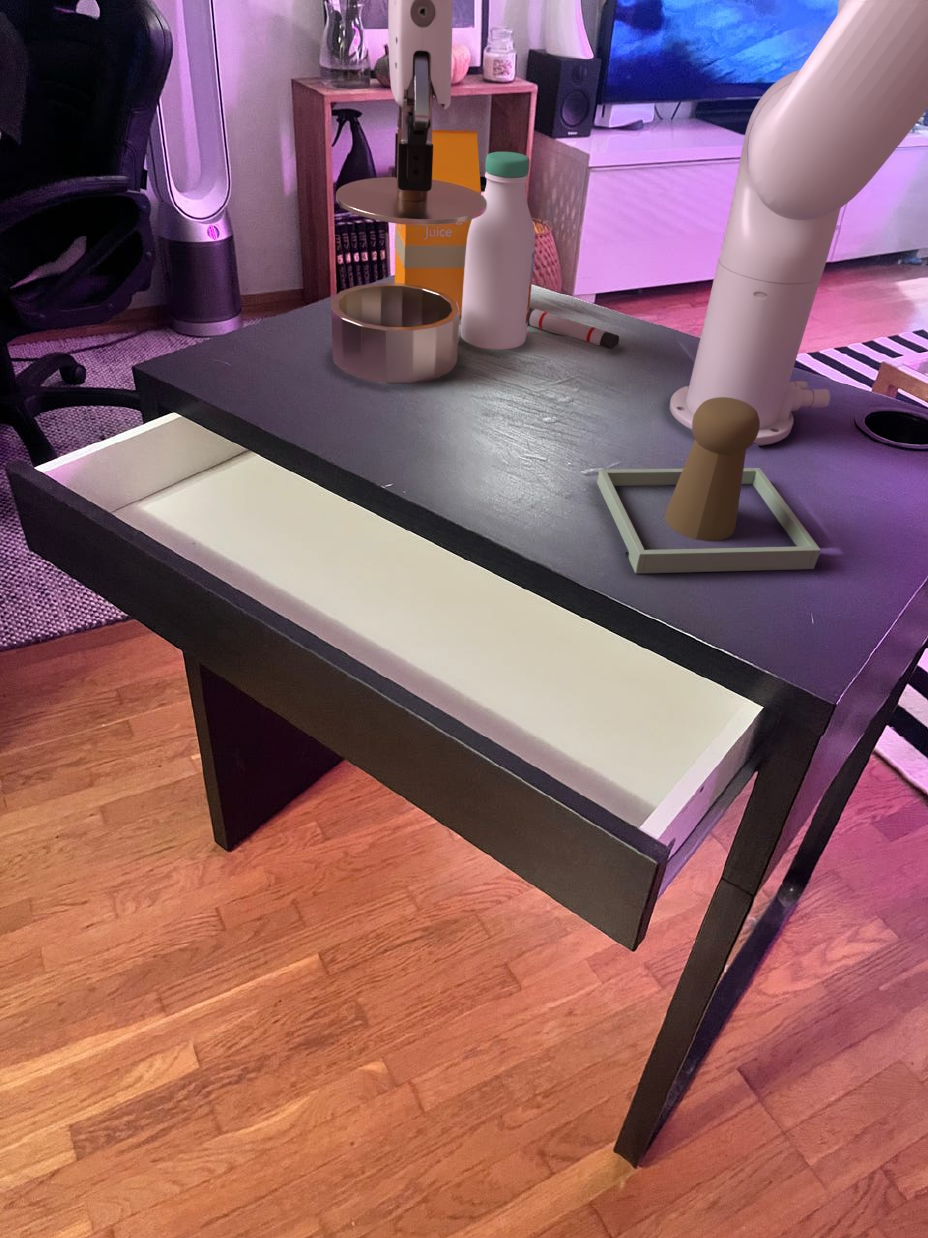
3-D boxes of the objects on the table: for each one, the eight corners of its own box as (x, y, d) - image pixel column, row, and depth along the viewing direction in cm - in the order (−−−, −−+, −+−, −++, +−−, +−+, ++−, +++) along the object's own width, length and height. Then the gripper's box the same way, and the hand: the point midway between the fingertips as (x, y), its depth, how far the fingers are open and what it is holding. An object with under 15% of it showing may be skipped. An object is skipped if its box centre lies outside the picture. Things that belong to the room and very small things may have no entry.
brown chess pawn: (682, 496, 82) (711, 381, 75) (746, 520, 79) (781, 403, 73) (652, 524, 78) (679, 405, 71) (717, 551, 76) (752, 430, 69)
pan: (448, 337, 108) (451, 283, 104) (462, 388, 98) (466, 330, 94) (331, 336, 106) (330, 281, 102) (333, 387, 96) (332, 328, 92)
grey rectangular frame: (754, 485, 85) (760, 467, 84) (814, 569, 75) (821, 550, 74) (596, 487, 83) (599, 469, 82) (635, 573, 73) (639, 554, 72)
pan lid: (474, 190, 97) (480, 115, 92) (496, 233, 86) (504, 150, 81) (334, 185, 95) (332, 108, 90) (338, 229, 83) (336, 143, 79)
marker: (617, 349, 109) (620, 332, 107) (609, 353, 107) (612, 337, 106) (510, 314, 115) (511, 298, 114) (501, 318, 114) (503, 302, 112)
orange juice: (473, 316, 114) (485, 138, 101) (403, 318, 112) (406, 136, 99) (460, 294, 120) (470, 122, 107) (393, 295, 118) (395, 121, 105)
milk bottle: (520, 357, 105) (539, 168, 92) (454, 348, 106) (464, 159, 93) (529, 333, 111) (549, 151, 98) (467, 324, 112) (478, 143, 99)
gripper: (477, -39, 71) (461, 210, 83) (452, -54, 84) (441, 164, 96) (381, -46, 70) (378, 207, 82) (369, -60, 83) (369, 161, 94)
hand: (412, 182), depth 89 cm, fingers closed on pan lid, 3 cm apart
